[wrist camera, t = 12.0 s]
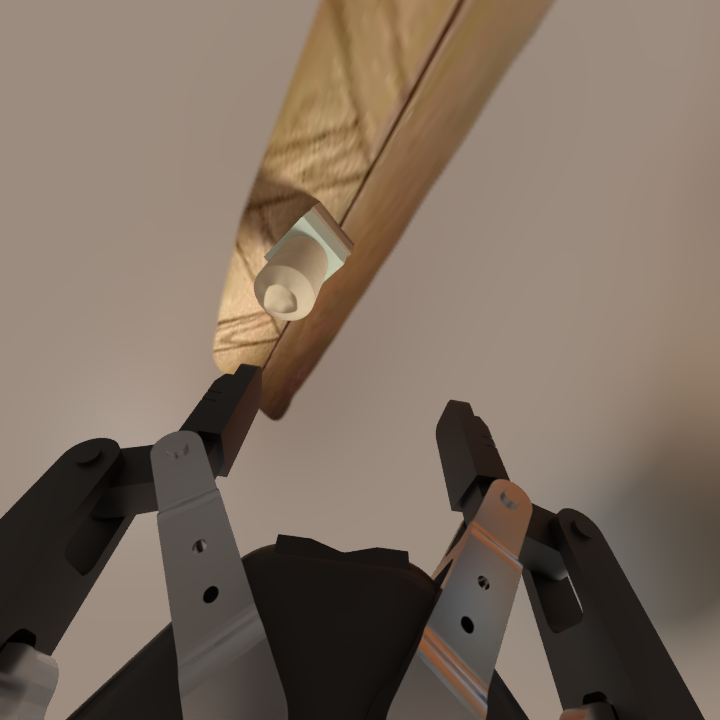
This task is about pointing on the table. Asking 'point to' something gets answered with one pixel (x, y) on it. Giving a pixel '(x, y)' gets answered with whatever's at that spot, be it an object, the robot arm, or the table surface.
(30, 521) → the robot arm
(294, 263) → the candle
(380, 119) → the table surface
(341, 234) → the base block
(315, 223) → the top block
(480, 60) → the table surface
